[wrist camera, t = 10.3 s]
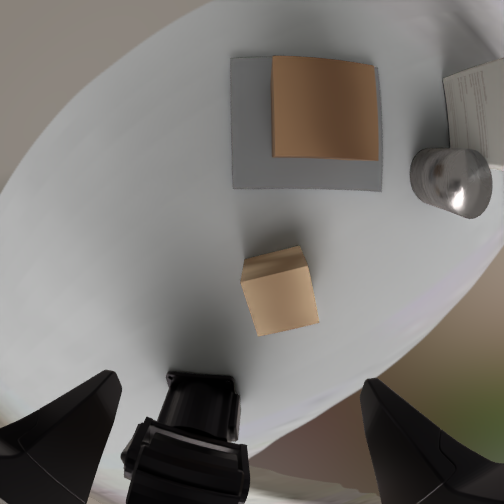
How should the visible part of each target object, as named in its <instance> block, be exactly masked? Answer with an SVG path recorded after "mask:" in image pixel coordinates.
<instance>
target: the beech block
mask: <svg viewBox="0 0 504 504" xmlns="http://www.w3.org/2000/svg"><path fill="white" fill-rule="evenodd" d="M240 283H241V286H242V289H243V292H244V295H245V298H246V301H247V304H248V307H249V310H250V313H251V316H252V319H253V322H254V325H255V328H256V331H257V334H258V336H263V335H268V334H273V333H277V332H282V331H286V330H291V329H295V328H299V327H304V326H308V325H312V324H316V323H319V318H318V313H317V307H316V302H315V297H314V292H313V287H312V282H311V278H310V273H309V268H308V265H307V262H306V260H305V257H304V255H303V252H302V250H301V248H300V246H296V247H292V248H288V249H284V250H280V251H276V252H272V253H268V254H264V255H260V256H256V257H252V258H247V259H245V260H244V265H243V271H242V276H241V282H240Z"/></svg>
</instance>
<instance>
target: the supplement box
mask: <svg viewBox="0 0 504 504" xmlns="http://www.w3.org/2000/svg"><path fill="white" fill-rule="evenodd" d="M443 84H444V90H445V96H446V104H447V112H448V122H449V134H450V148H459V149H473V150H476V151H478V152H479V153H480V154H481V155H482V156H483V157H484V158H485V160H486V161H487V163H488V165H489V168H490V169H495V170H500V171H504V58H501V59H497V60H494V61H491V62H488V63H484V64H481V65H478V66H475V67H472V68H469V69H466V70H463V71H461V72H459V73H456V74H453V75H451V76H448V77H445V78H443Z"/></svg>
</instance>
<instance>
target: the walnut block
mask: <svg viewBox="0 0 504 504" xmlns="http://www.w3.org/2000/svg"><path fill="white" fill-rule="evenodd" d="M270 90H271V134H272V158H317V159H336V160H362V161H379V135H378V108H377V93H376V81H375V71H374V66H372V65H367V64H361V63H355V62H349V61H341V60H333V59H324V58H313V57H299V56H273V57H272V69H271V81H270Z"/></svg>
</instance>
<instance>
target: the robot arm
mask: <svg viewBox="0 0 504 504" xmlns="http://www.w3.org/2000/svg"><path fill="white" fill-rule="evenodd" d="M171 376H172V377H171ZM166 379H167V382H168V386H169V390H168V393H167V395H166V398H165V401H164V403H163V406H162V409H161V411H160V414H159V417H158V420H157V421H155V420H153V419H152V418H149V417H146V419H145V421H144V423H141V424H138V426H137V428H136V431H135V433H134V435H133V437H132V439H131V440H130V442H129V443H128V445H127V446H126V447H125V449H124V450H123V452H122V453H121V460H122V461H123V463H124V478H127V479H129V480H131V482H130V486H129V490H128V494H127V498H126V504H244V503H245V501H246V499H247V496H248V492H249V487H250V471H249V462H248V452H247V445H244V444H235V443H231V441H235V442H236V441H237V440H238V435H239V425H240V415H241V405H240V395H239V394H236V393H235V382H234V378H233V377H231V376H219V375H203V374H191V373H180V372H168V373H167V375H166ZM121 393H122V386H121V384H120V381H119V379H118V377H117V374H116V373H115V372H114V371H111V370H104V371H102V372H100V373H99V374H97V375H95V376H94V377H92V378H91V379H89V380H87V381H86V382H84V383H82V384H81V385H79V386H77V387H76V388H74V389H72V390H71V391H69V392H67V393H66V394H64V395H62V396H61V397H59V398H57V399H56V400H54V401H52V402H50V403H49V404H47V405H45V406H44V407H42V408H40V409H39V410H37V411H35V412H33V413H31V414H30V415H28V416H26V417H24V418H22V419H20V420H18V421H16V422H14V423H11V424H9V425H7V426H4V427H2V428H0V504H86V503H87V500H88V497H89V494H90V490H91V487H92V484H93V481H94V478H95V474H96V471H97V468H98V465H99V462H100V459H101V457H102V454H103V451H104V448H105V445H106V442H107V440H108V437H109V434H110V432H111V429H112V426H113V423H114V420H115V416H116V412H117V408H118V404H119V400H120V397H121ZM360 402H361V409H362V416H363V423H364V430H365V435H366V439H367V443H368V447H369V451H370V455H371V459H372V463H373V467H374V471H375V476H376V480H377V484H378V489H379V492H380V498H381V502H382V504H504V464H502V463H495V462H492V461H490V460H488V459H486V458H484V457H483V456H481V455H479V454H477V453H476V452H474V451H472V450H470V449H469V448H467V447H466V446H464V445H462V444H461V443H459V442H458V441H456V440H455V439H453V438H452V437H451V436H449V435H448V434H447V433H446V432H444V431H443V430H441V429H440V428H439V427H438V426H436V425H435V424H434V423H433V422H431V421H430V420H429V419H428V418H426V417H425V416H424V415H423V414H421V413H420V412H419V411H418V410H416V409H415V408H414V407H413V406H411V405H410V404H409V403H408V402H406V401H405V400H404V399H403V398H401V397H400V396H399V395H398V394H396V393H395V392H394V391H393V390H391V389H390V388H389V387H388V386H387V385H385V384H384V383H383V382H382V381H380V380H379V379H378V378H370V379H366V380H365V382H364V385H363V388H362V391H361V394H360Z"/></svg>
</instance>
